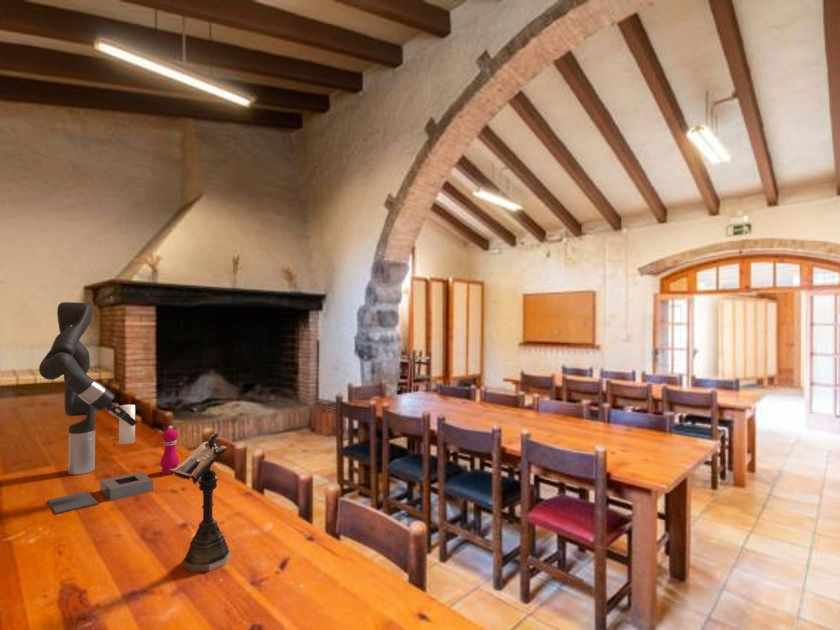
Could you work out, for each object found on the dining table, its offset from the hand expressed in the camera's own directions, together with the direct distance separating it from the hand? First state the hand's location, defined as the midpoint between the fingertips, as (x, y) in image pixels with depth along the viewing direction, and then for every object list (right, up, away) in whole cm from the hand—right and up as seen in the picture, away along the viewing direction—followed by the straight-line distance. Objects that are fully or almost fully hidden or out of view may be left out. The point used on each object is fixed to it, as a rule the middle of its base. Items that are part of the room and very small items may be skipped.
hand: (132, 422), depth 184 cm
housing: (-1, -26, -1) cm, 26 cm away
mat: (-13, -26, -14) cm, 32 cm away
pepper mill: (+4, -26, +20) cm, 33 cm away
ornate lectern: (+52, -26, -56) cm, 80 cm away
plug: (-1, -7, -1) cm, 7 cm away
